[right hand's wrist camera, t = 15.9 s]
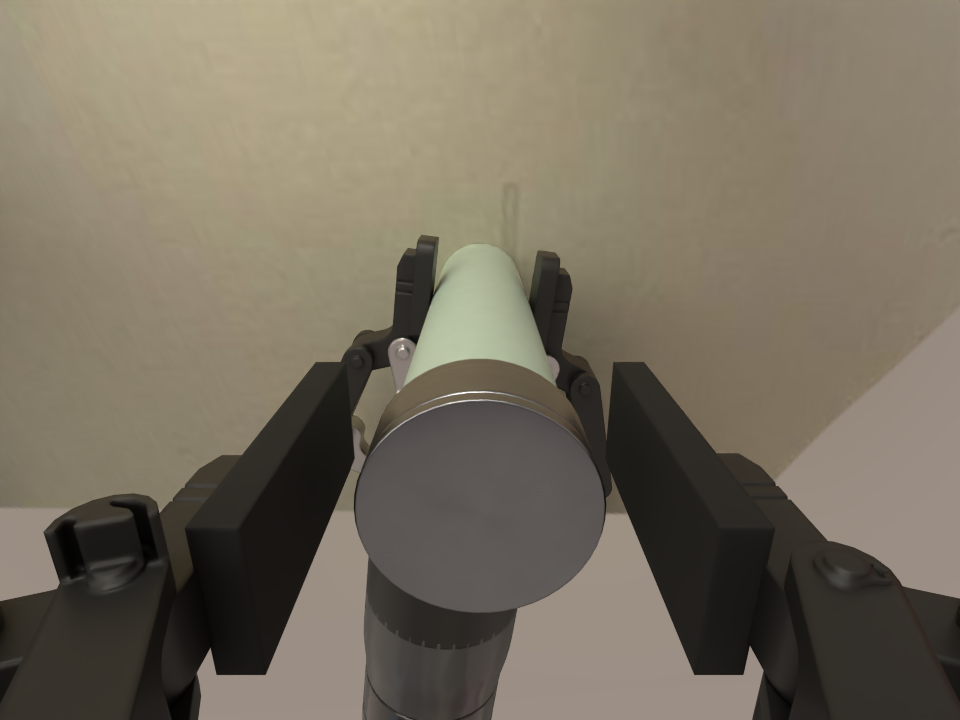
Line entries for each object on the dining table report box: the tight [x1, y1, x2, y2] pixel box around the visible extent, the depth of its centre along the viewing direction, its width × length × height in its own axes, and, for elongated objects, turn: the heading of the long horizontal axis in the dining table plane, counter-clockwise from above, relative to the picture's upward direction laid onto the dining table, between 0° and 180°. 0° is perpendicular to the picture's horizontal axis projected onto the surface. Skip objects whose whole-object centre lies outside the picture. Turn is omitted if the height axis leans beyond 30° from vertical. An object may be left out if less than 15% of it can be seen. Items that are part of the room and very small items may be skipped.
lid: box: [354, 359, 606, 613], centre depth 11 cm, size 5×5×2 cm
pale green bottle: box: [403, 244, 557, 387], centre depth 20 cm, size 4×4×19 cm
